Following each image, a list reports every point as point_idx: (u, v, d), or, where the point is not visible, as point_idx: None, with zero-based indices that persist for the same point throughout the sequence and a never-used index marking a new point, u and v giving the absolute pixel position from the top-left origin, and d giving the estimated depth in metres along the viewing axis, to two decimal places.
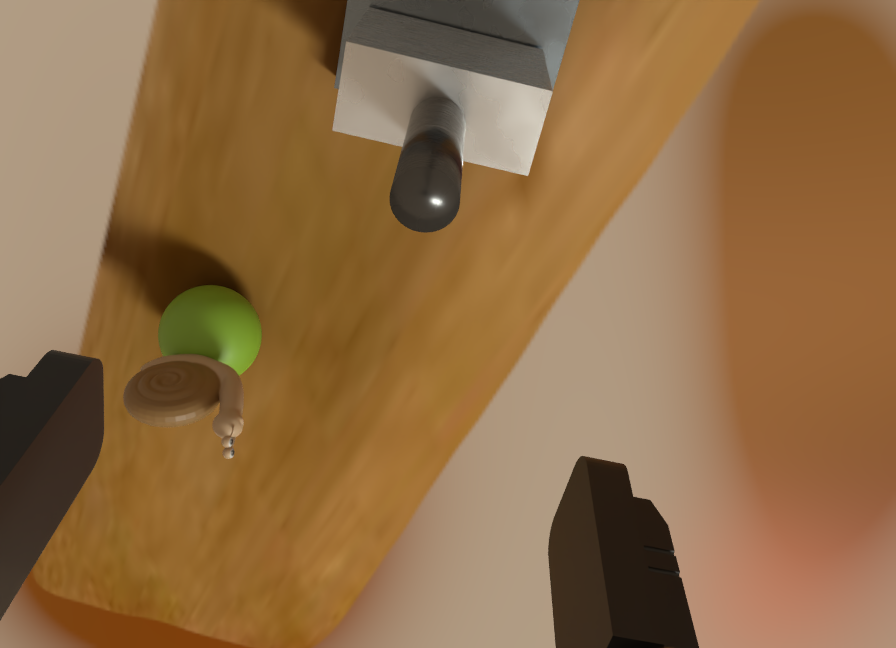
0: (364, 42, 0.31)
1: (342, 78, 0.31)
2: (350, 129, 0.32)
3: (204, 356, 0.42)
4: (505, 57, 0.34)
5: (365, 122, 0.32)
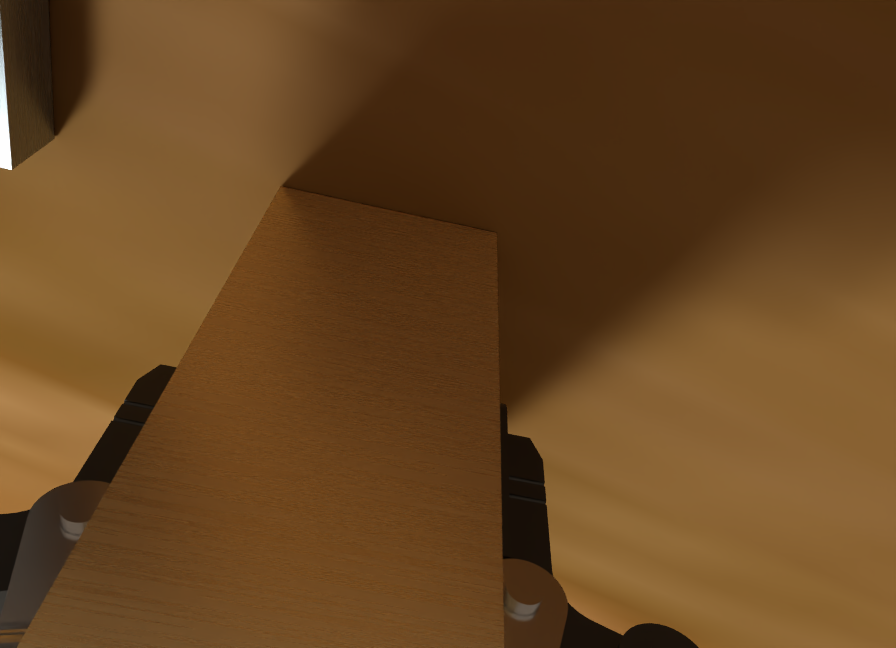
0: None
1: None
2: None
3: None
4: None
5: None
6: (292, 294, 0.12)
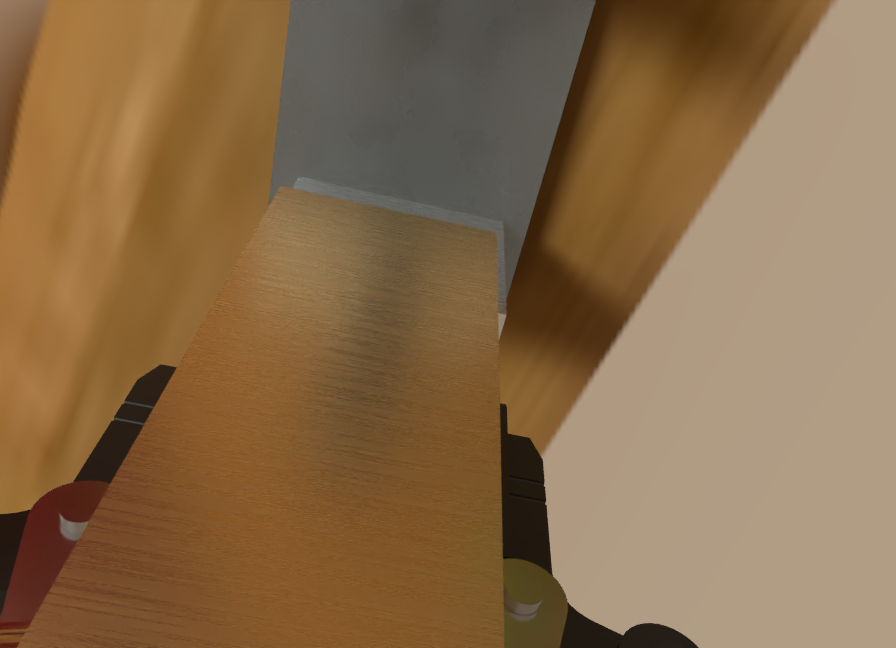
0: None
1: None
2: None
3: None
4: None
5: None
6: (291, 294, 0.12)
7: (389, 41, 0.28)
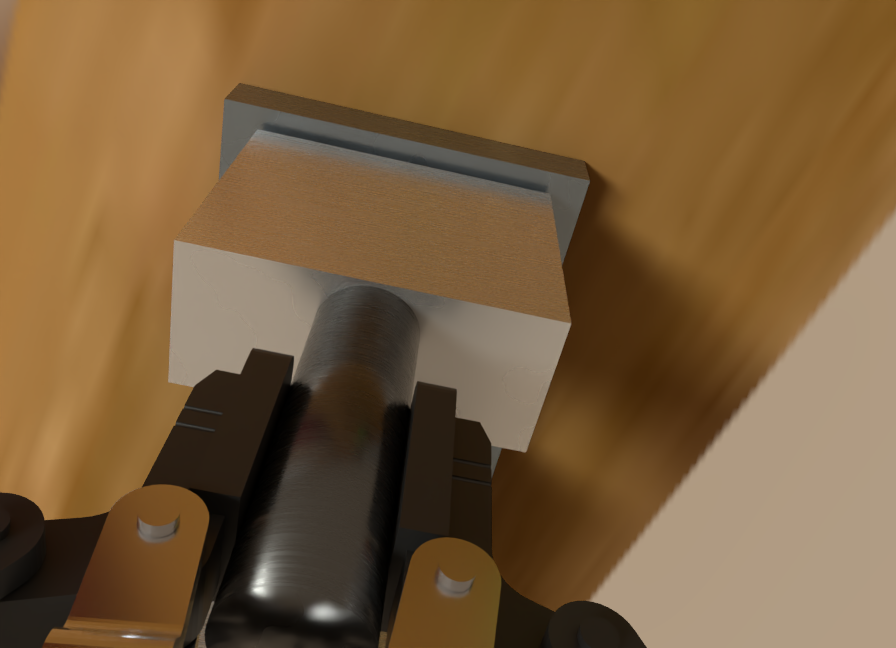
0: None
1: (539, 403, 0.17)
2: (535, 325, 0.16)
3: None
4: None
5: (504, 336, 0.17)
6: None
7: None
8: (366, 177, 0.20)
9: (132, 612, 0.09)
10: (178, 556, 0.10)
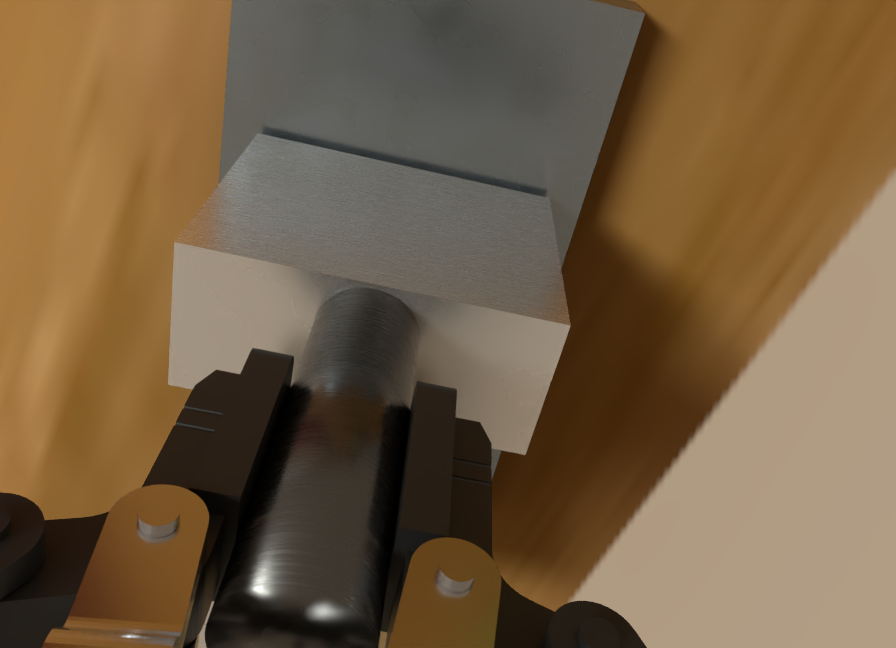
0: None
1: (538, 405, 0.17)
2: (534, 327, 0.16)
3: None
4: None
5: (504, 338, 0.17)
6: None
7: None
8: (366, 181, 0.20)
9: (132, 612, 0.09)
10: (178, 556, 0.10)
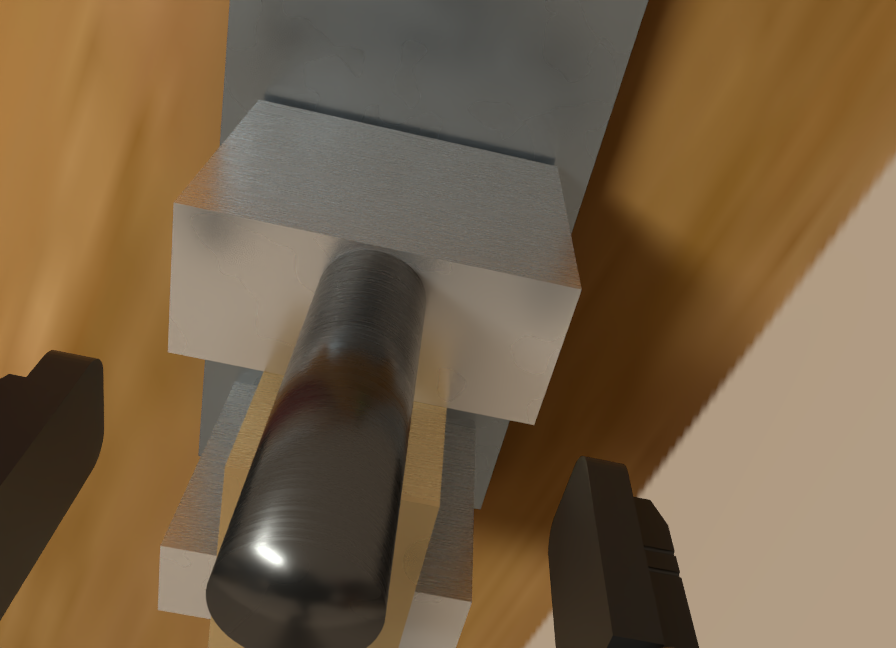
0: None
1: (548, 373, 0.17)
2: (544, 291, 0.16)
3: None
4: None
5: (513, 303, 0.16)
6: None
7: None
8: (370, 147, 0.20)
9: None
10: None
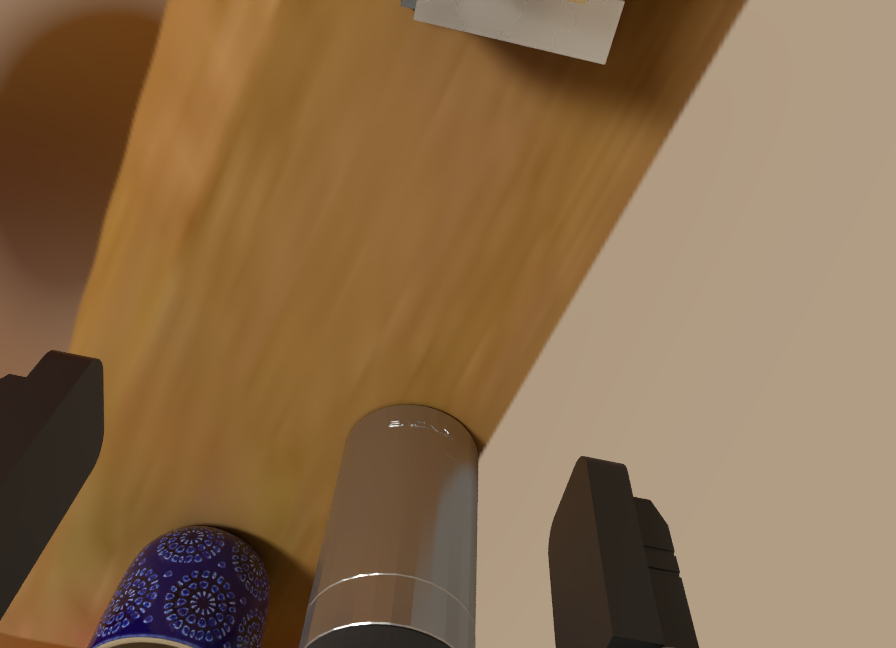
0: None
1: None
2: None
3: None
4: None
5: None
6: None
7: None
8: None
9: None
10: None
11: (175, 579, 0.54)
